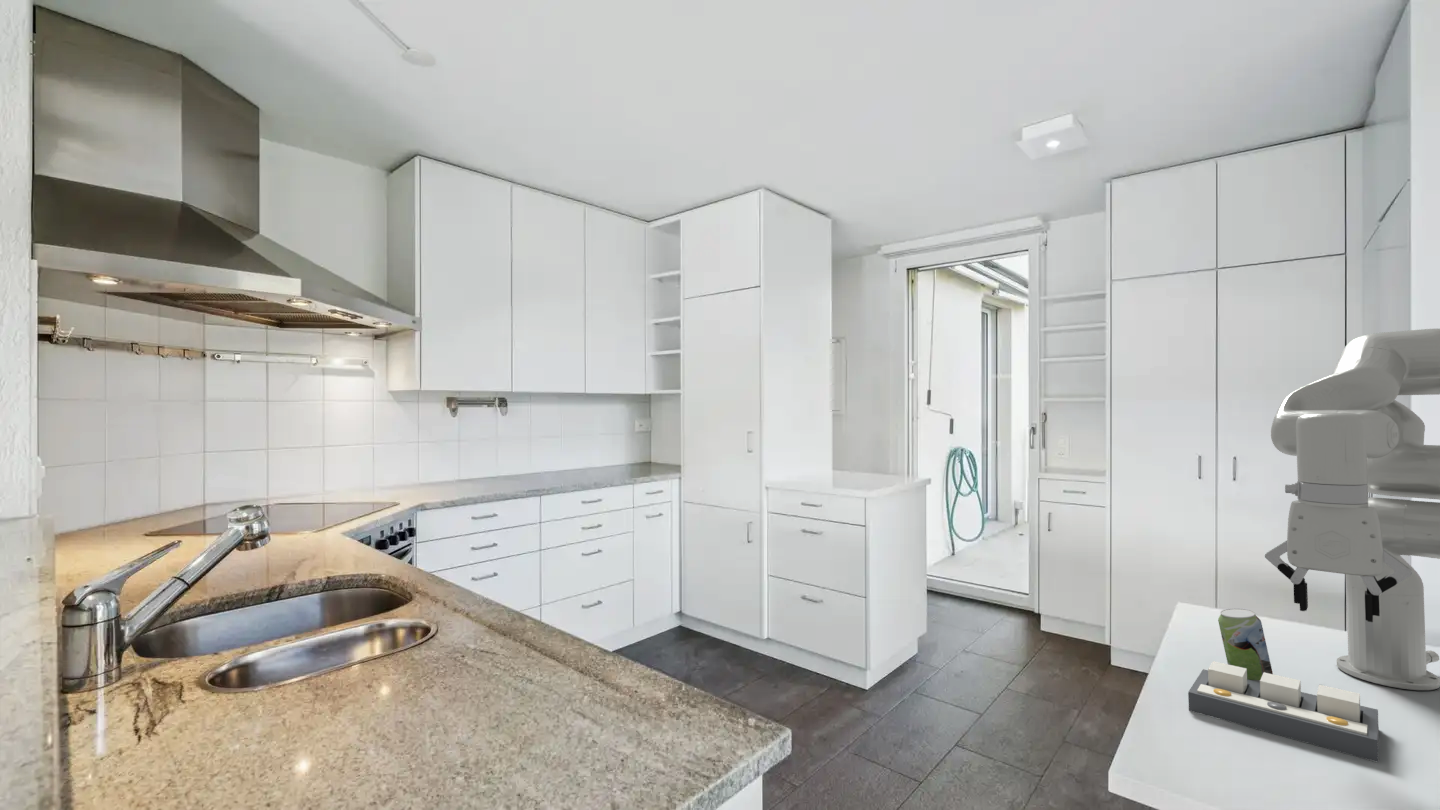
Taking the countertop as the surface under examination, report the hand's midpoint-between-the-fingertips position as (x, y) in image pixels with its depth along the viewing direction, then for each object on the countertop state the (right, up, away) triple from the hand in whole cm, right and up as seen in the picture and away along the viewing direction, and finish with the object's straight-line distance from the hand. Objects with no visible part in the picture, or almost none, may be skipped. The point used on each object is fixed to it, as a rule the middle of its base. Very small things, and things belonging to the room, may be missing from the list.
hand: (1335, 613), depth 93 cm
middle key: (-4, -15, +5) cm, 16 cm away
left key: (-8, -15, +9) cm, 20 cm away
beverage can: (+2, -18, +18) cm, 25 cm away
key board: (-5, -18, +4) cm, 19 cm away
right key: (0, -15, 0) cm, 15 cm away
